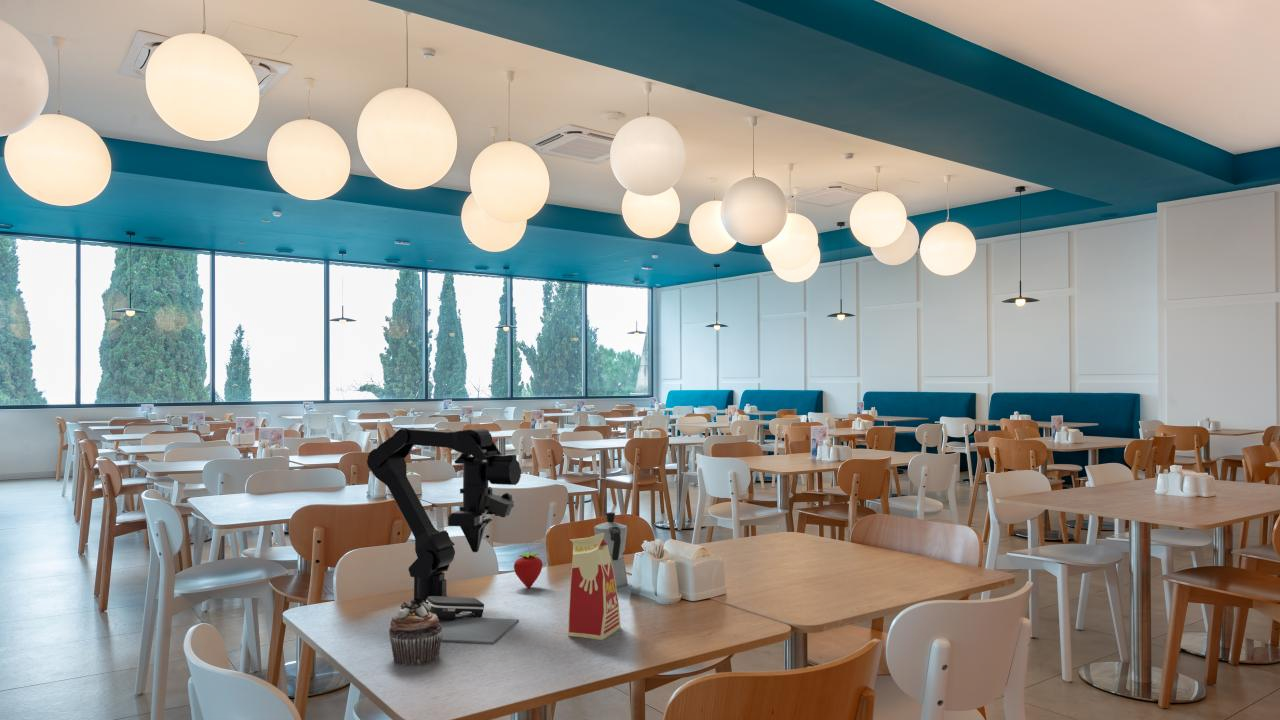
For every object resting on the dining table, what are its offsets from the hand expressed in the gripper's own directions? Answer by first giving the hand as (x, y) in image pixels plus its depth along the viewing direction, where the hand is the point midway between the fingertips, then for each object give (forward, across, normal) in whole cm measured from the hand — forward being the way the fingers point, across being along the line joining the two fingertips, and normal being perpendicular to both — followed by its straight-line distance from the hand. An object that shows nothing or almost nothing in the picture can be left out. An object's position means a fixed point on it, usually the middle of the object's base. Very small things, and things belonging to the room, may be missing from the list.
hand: (475, 552), depth 185 cm
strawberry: (+12, +18, -7) cm, 23 cm away
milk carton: (+12, -16, -31) cm, 37 cm away
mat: (+12, -19, -5) cm, 23 cm away
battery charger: (+11, -8, -4) cm, 14 cm away
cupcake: (+12, -37, -3) cm, 39 cm away
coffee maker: (+12, +24, -27) cm, 38 cm away
